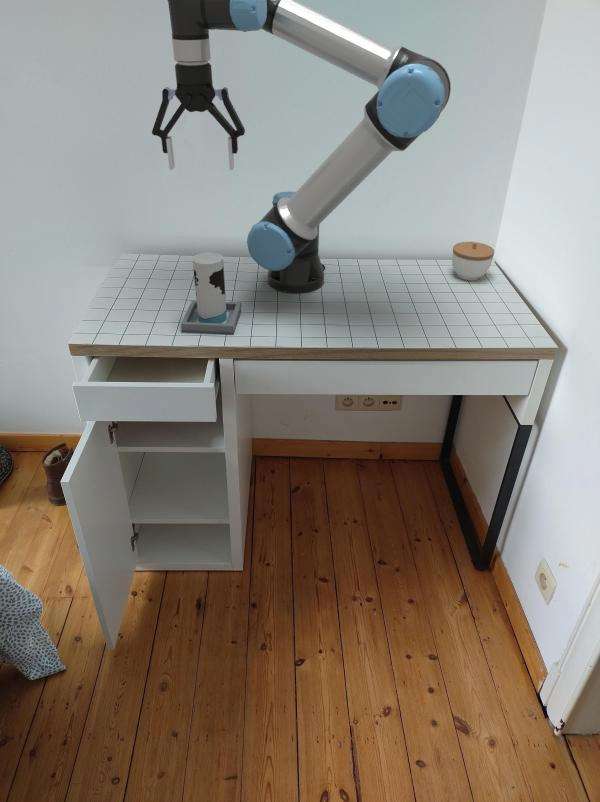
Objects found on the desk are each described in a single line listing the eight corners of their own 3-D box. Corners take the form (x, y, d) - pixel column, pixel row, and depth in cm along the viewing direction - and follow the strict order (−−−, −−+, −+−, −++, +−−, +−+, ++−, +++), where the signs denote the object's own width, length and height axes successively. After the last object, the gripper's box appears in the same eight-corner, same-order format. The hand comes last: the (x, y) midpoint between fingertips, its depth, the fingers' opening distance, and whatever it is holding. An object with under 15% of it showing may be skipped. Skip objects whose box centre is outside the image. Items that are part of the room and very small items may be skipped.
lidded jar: (477, 287, 160) (484, 254, 155) (441, 276, 166) (446, 243, 160) (495, 275, 167) (502, 242, 161) (460, 264, 172) (466, 232, 167)
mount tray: (241, 310, 148) (241, 302, 147) (233, 334, 138) (233, 326, 137) (192, 308, 149) (192, 300, 147) (181, 332, 139) (180, 323, 138)
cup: (232, 316, 144) (229, 256, 135) (213, 328, 139) (209, 266, 131) (211, 309, 147) (206, 249, 138) (192, 319, 142) (186, 259, 134)
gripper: (253, 60, 129) (257, 163, 141) (136, 59, 129) (150, 163, 141) (251, 64, 123) (255, 172, 135) (128, 64, 123) (143, 172, 135)
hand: (202, 168), depth 138 cm, fingers open, 13 cm apart
